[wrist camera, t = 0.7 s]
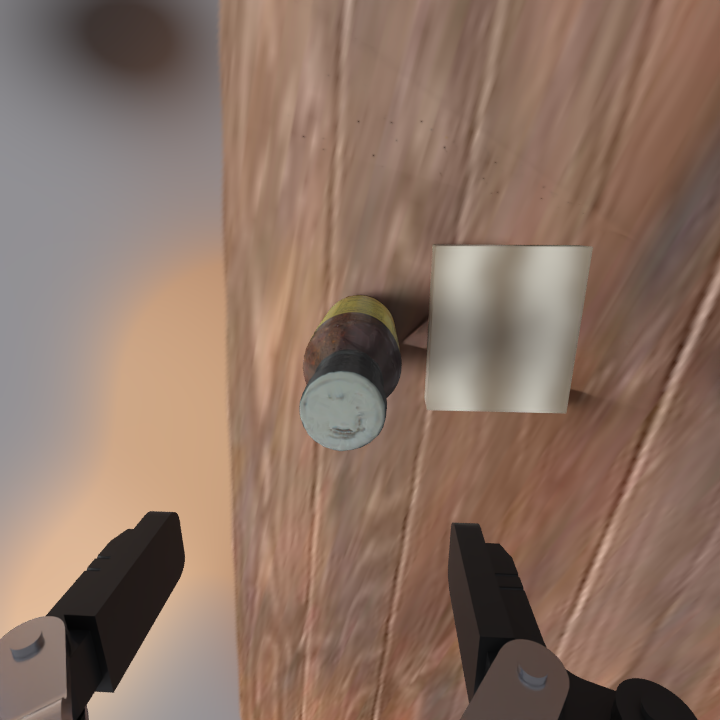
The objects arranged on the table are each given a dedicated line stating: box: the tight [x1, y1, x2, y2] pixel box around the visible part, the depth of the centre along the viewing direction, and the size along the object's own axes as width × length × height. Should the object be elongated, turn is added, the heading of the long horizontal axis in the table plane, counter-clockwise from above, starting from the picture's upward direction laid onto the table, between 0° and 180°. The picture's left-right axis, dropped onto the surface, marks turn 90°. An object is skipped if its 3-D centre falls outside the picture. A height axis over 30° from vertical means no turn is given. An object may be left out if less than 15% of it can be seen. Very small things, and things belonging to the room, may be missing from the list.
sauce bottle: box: [300, 295, 402, 451], centre depth 29 cm, size 7×6×20 cm
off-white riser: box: [425, 245, 593, 413], centre depth 37 cm, size 12×14×3 cm
